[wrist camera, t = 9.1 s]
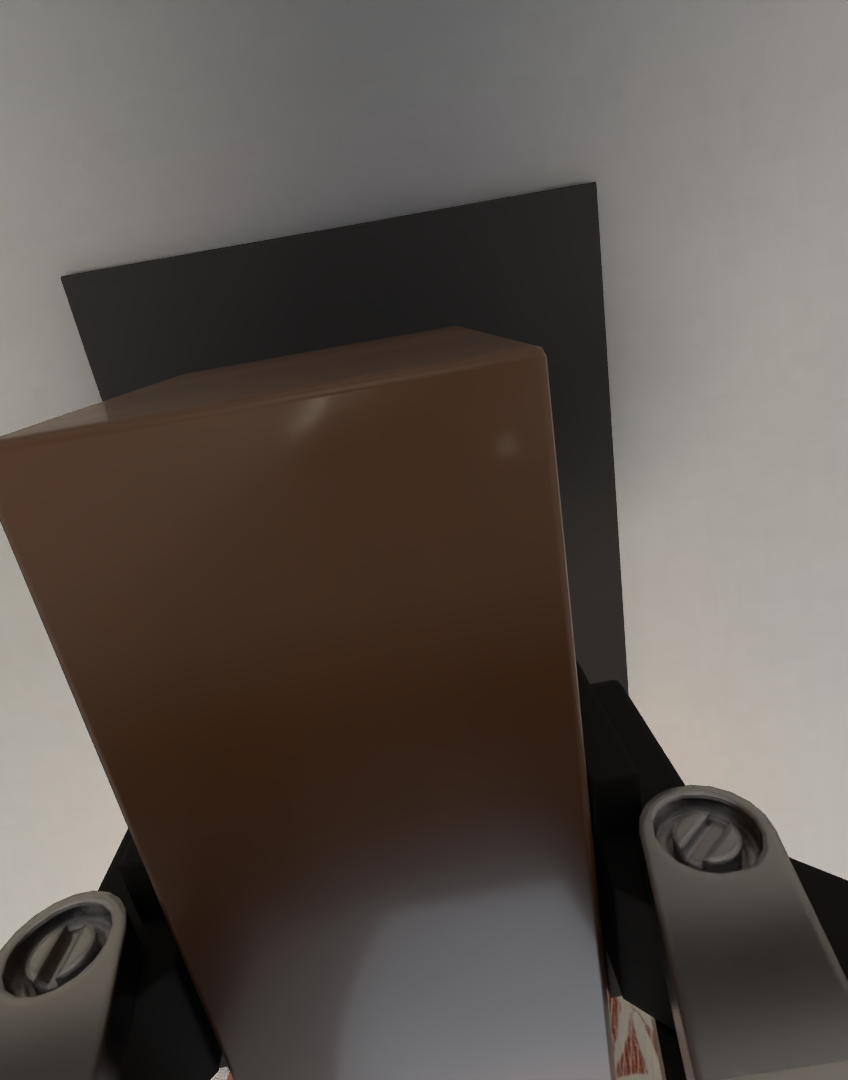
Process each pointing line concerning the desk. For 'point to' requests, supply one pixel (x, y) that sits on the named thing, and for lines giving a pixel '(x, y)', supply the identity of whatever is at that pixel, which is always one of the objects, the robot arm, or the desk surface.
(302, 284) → the black mat
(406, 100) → the desk surface
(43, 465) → the bar
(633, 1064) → the planter
